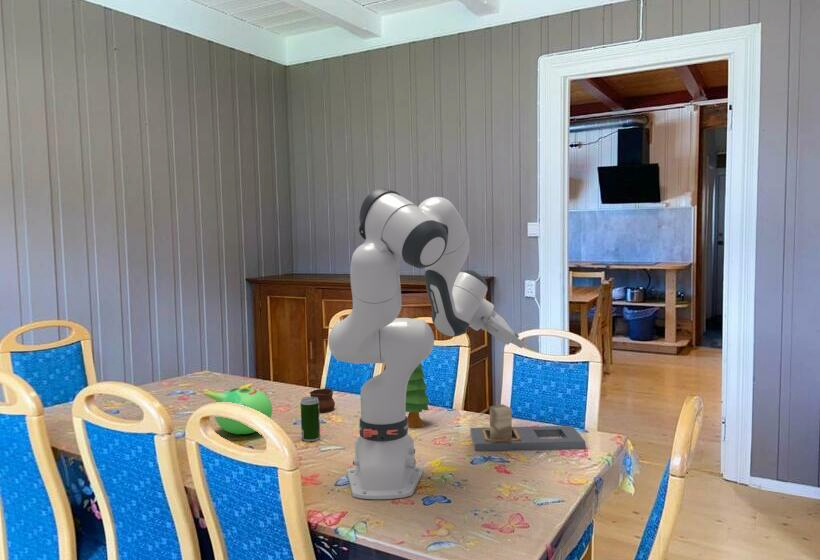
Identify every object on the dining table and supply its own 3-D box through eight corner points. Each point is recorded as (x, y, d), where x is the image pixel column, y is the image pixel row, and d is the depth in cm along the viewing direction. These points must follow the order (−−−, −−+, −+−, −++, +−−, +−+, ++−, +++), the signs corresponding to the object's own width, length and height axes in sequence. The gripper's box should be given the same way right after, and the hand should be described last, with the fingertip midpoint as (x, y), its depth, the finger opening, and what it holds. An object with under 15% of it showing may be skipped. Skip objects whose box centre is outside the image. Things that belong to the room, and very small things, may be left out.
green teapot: (283, 429, 194) (282, 382, 193) (243, 446, 180) (241, 395, 179) (241, 421, 203) (239, 377, 202) (200, 436, 189) (198, 388, 188)
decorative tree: (395, 422, 198) (393, 328, 196) (422, 418, 203) (419, 326, 201) (409, 431, 190) (407, 332, 188) (436, 426, 194) (434, 329, 192)
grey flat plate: (585, 448, 171) (585, 440, 171) (475, 451, 171) (475, 443, 171) (572, 432, 185) (572, 425, 185) (470, 434, 185) (470, 427, 185)
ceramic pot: (336, 419, 204) (335, 397, 204) (286, 416, 209) (285, 395, 209) (356, 405, 221) (355, 385, 221) (309, 403, 226) (309, 384, 226)
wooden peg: (511, 442, 177) (511, 408, 177) (498, 445, 175) (498, 410, 175) (503, 438, 181) (502, 404, 180) (490, 440, 179) (489, 406, 179)
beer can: (306, 443, 181) (304, 402, 180) (298, 438, 185) (297, 398, 184) (323, 439, 184) (322, 399, 183) (315, 434, 188) (314, 395, 187)
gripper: (491, 312, 166) (533, 341, 167) (482, 299, 186) (520, 325, 187) (477, 331, 167) (520, 360, 168) (470, 316, 187) (508, 342, 188)
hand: (520, 341), depth 178 cm, fingers open, 8 cm apart
